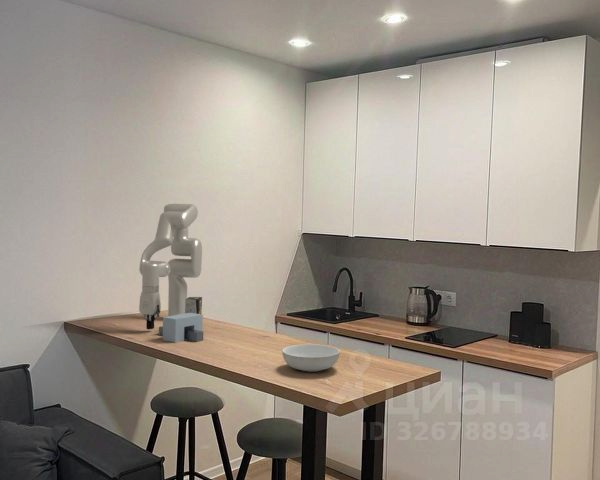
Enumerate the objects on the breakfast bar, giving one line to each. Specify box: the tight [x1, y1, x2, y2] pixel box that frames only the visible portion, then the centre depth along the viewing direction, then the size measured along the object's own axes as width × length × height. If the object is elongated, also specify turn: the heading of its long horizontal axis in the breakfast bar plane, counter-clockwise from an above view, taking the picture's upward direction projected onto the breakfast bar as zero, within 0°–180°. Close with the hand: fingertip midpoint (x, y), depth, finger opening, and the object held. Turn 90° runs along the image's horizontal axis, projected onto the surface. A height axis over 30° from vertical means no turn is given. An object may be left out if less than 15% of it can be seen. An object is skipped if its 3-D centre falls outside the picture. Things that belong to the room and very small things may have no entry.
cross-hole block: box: [162, 313, 204, 344], centre depth 259 cm, size 8×16×10 cm, turn 144°
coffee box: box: [185, 296, 203, 315], centre depth 273 cm, size 9×6×16 cm
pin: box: [158, 325, 204, 343], centre depth 261 cm, size 24×8×5 cm, turn 56°
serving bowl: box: [281, 343, 341, 373], centre depth 214 cm, size 21×21×7 cm
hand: (150, 328), depth 273 cm, fingers closed
